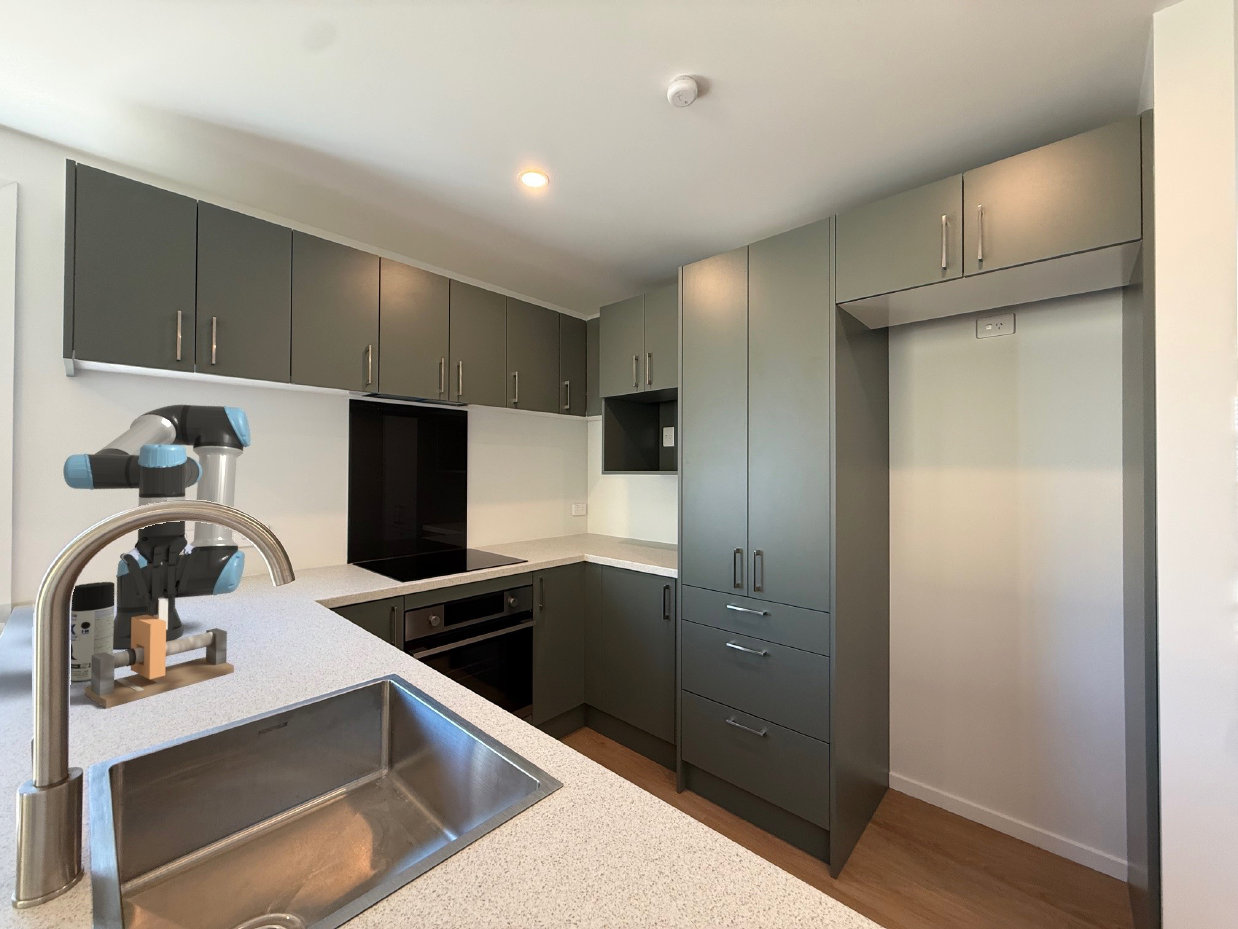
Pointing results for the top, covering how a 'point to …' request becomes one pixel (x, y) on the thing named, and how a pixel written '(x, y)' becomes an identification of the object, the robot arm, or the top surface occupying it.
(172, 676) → the pipe stand
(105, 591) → the spray can
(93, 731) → the top surface
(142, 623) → the collar
